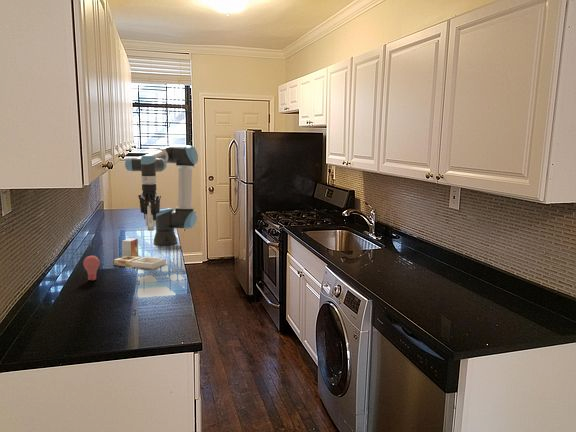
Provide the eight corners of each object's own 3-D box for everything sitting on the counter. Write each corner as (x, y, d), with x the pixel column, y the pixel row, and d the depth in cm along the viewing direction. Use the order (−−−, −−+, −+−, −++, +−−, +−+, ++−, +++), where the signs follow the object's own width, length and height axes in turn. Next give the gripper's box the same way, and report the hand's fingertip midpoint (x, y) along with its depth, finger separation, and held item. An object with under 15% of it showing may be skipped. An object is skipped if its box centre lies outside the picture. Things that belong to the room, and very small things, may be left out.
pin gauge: (150, 229, 245) (149, 204, 243) (154, 229, 244) (154, 205, 242) (146, 230, 242) (145, 205, 240) (151, 230, 241) (150, 205, 239)
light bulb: (93, 277, 213) (92, 253, 212) (103, 279, 210) (102, 255, 208) (81, 281, 207) (79, 256, 205) (91, 283, 204) (89, 258, 202)
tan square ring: (126, 260, 245) (126, 255, 245) (141, 262, 242) (141, 257, 242) (114, 264, 236) (114, 259, 236) (129, 266, 233) (129, 261, 232)
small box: (131, 259, 248) (130, 241, 247) (122, 258, 249) (121, 240, 248) (138, 256, 256) (138, 238, 255) (130, 255, 257) (129, 237, 256)
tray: (146, 261, 243) (145, 256, 243) (166, 264, 239) (165, 258, 239) (131, 267, 232) (131, 261, 232) (152, 269, 228) (152, 264, 228)
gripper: (132, 183, 238) (134, 225, 242) (157, 184, 233) (158, 227, 237) (141, 182, 245) (142, 223, 249) (165, 183, 240) (167, 225, 244)
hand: (150, 225), depth 243 cm, fingers closed on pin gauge, 3 cm apart
